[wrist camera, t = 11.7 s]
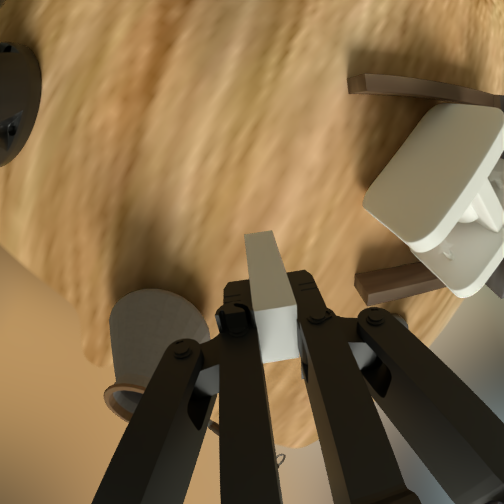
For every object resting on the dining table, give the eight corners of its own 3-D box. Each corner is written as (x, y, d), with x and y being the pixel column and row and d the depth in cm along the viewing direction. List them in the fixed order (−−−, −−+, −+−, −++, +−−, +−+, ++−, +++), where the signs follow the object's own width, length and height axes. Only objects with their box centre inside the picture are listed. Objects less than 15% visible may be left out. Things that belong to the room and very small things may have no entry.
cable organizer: (432, 95, 22) (513, 100, 12) (478, 161, 26) (548, 190, 15) (353, 199, 27) (414, 249, 17) (410, 254, 30) (468, 311, 20)
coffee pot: (105, 324, 32) (61, 420, 19) (140, 256, 29) (82, 362, 15) (244, 391, 39) (248, 484, 25) (297, 344, 35) (322, 449, 21)
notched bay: (346, 78, 22) (395, 65, 14) (478, 95, 22) (533, 100, 14) (354, 285, 32) (386, 337, 23) (467, 261, 31) (508, 295, 23)
